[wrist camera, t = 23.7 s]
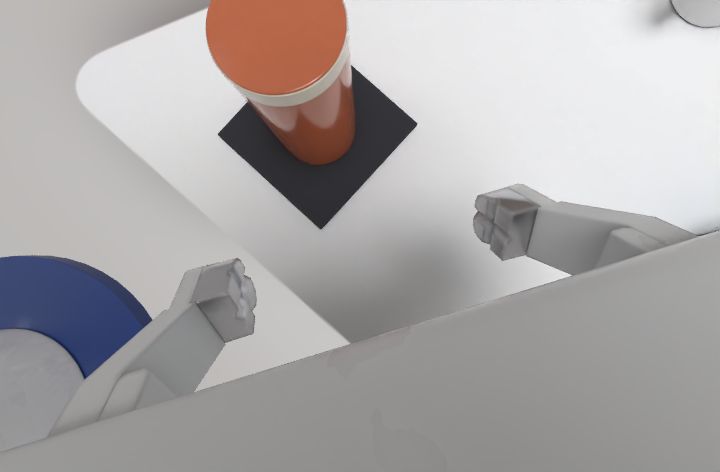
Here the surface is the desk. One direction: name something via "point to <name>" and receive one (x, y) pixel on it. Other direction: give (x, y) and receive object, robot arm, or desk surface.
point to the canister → (290, 69)
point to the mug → (699, 11)
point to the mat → (328, 181)
